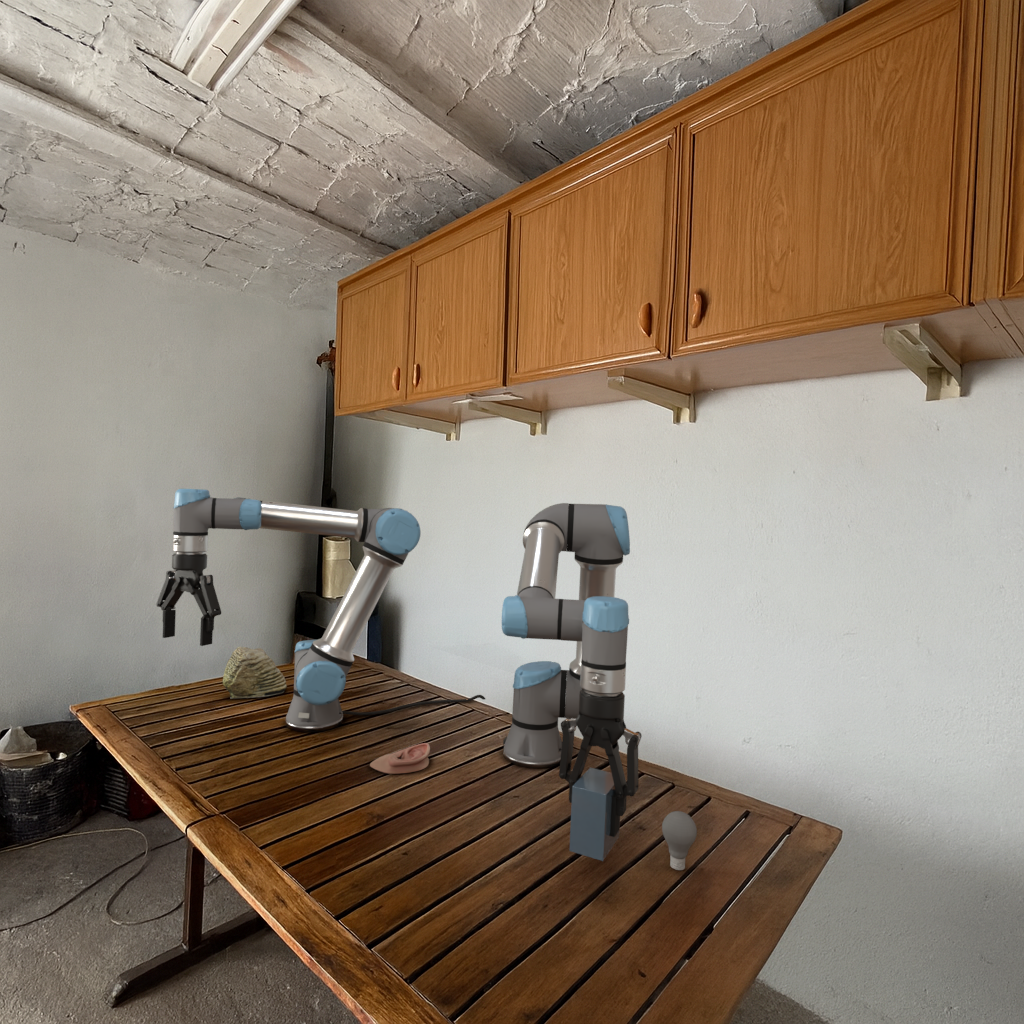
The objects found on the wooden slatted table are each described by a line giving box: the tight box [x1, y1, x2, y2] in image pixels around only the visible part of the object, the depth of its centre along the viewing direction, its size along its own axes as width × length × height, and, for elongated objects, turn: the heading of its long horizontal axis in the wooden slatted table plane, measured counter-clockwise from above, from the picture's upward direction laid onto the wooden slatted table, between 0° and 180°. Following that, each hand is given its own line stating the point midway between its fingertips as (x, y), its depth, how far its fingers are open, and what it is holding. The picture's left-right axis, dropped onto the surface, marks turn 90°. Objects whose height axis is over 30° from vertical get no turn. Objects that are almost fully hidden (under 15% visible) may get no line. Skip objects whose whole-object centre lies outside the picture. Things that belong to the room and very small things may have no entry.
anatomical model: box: [369, 742, 431, 775], centre depth 151 cm, size 13×4×12 cm
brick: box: [568, 767, 621, 862], centre depth 106 cm, size 9×6×11 cm, turn 153°
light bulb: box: [661, 810, 698, 871], centre depth 113 cm, size 6×6×10 cm
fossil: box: [222, 646, 288, 699], centre depth 198 cm, size 9×18×15 cm, turn 132°
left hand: (187, 640), depth 153 cm, fingers open, 13 cm apart
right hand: (595, 827), depth 106 cm, fingers closed on brick, 6 cm apart
